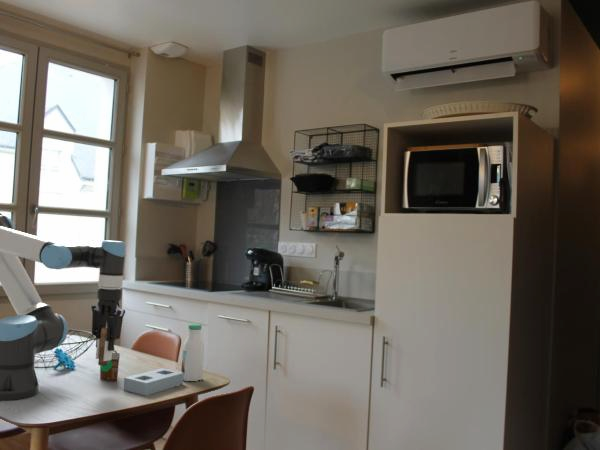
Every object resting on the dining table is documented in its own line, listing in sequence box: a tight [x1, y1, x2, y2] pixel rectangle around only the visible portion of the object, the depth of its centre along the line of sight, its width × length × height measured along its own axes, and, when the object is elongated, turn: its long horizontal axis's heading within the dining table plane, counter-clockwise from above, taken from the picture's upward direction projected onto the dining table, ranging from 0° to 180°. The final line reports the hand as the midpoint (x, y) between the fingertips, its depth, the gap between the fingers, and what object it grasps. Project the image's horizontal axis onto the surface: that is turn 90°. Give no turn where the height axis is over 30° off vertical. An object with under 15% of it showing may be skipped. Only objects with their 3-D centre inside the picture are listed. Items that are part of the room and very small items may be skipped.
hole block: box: [122, 367, 184, 396], centre depth 189 cm, size 18×10×4 cm, turn 151°
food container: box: [99, 348, 120, 382], centre depth 196 cm, size 12×6×10 cm, turn 27°
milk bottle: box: [180, 323, 205, 382], centre depth 202 cm, size 8×8×20 cm
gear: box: [53, 347, 76, 371], centre depth 205 cm, size 11×6×10 cm
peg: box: [97, 326, 108, 366], centre depth 181 cm, size 3×3×12 cm
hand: (103, 359), depth 181 cm, fingers closed on peg, 3 cm apart
